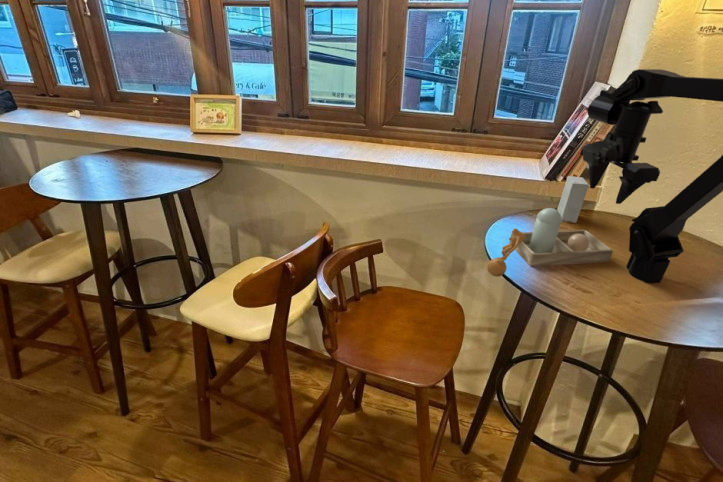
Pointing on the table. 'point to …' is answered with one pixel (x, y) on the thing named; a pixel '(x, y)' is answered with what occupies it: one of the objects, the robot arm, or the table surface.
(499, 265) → the figurine
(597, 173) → the robot arm
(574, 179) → the skincare box
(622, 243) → the table surface
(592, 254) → the caddy
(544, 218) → the pale blue pillar
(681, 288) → the table surface
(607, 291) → the table surface
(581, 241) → the brown egg
